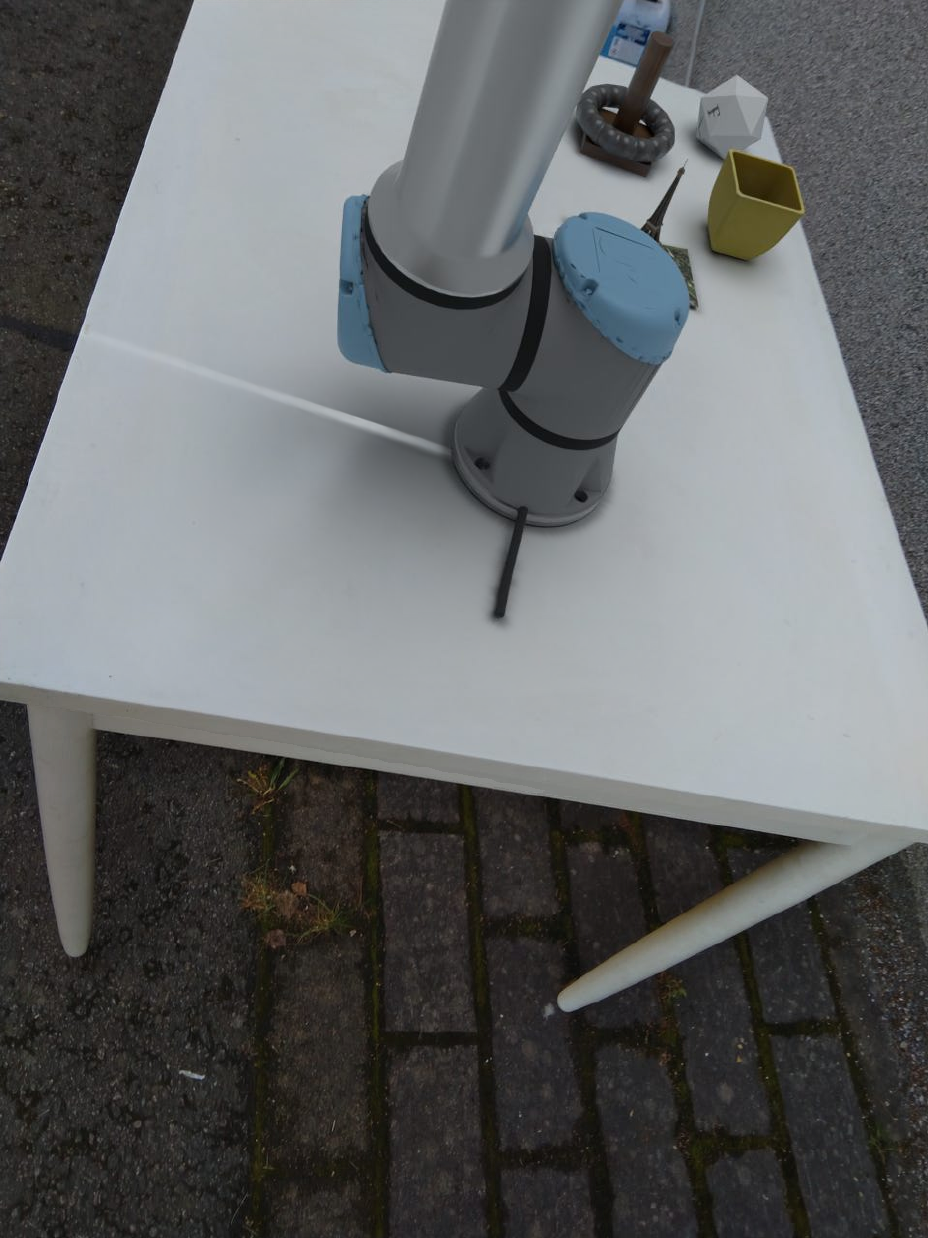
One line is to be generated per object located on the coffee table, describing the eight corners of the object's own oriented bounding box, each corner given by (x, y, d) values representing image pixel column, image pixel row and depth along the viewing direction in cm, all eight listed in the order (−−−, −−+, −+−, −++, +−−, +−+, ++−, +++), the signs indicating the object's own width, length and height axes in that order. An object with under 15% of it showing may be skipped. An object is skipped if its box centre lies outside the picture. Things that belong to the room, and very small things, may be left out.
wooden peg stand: (645, 177, 114) (697, 71, 103) (579, 151, 113) (624, 42, 102) (650, 138, 119) (699, 33, 108) (586, 114, 118) (630, 5, 106)
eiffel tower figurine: (574, 282, 100) (624, 174, 89) (568, 223, 105) (614, 113, 94) (696, 309, 103) (759, 209, 92) (684, 251, 108) (743, 149, 97)
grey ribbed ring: (667, 178, 112) (677, 160, 110) (569, 142, 110) (577, 122, 108) (670, 121, 119) (679, 102, 117) (577, 86, 117) (585, 66, 115)
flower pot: (763, 276, 110) (806, 213, 103) (699, 258, 108) (738, 193, 101) (753, 230, 115) (794, 166, 107) (691, 212, 113) (728, 146, 105)
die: (687, 120, 125) (693, 74, 115) (753, 101, 124) (764, 53, 114) (700, 177, 125) (707, 136, 115) (766, 159, 123) (779, 115, 113)
